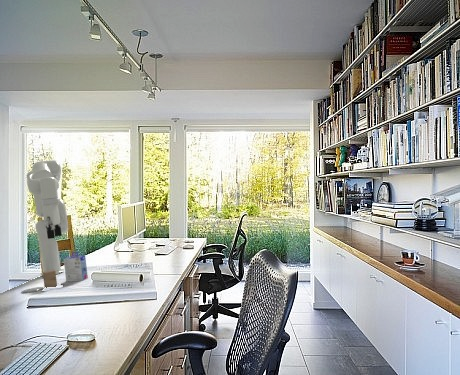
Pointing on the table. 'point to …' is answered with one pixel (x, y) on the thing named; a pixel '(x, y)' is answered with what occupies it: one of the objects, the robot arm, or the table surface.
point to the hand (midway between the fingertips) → (54, 237)
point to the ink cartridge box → (75, 268)
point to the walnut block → (49, 278)
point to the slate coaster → (32, 290)
